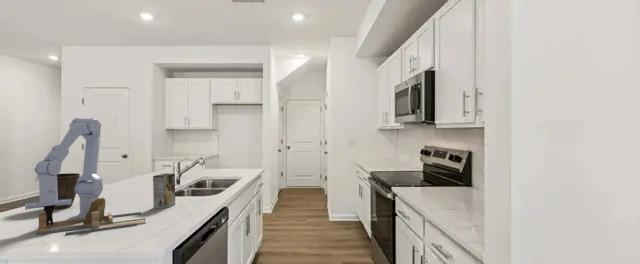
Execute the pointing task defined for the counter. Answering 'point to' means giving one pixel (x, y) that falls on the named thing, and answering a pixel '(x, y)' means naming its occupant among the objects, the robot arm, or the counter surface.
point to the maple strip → (96, 224)
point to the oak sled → (65, 222)
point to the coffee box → (164, 190)
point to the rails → (96, 228)
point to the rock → (95, 210)
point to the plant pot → (66, 188)
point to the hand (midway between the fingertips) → (49, 224)
